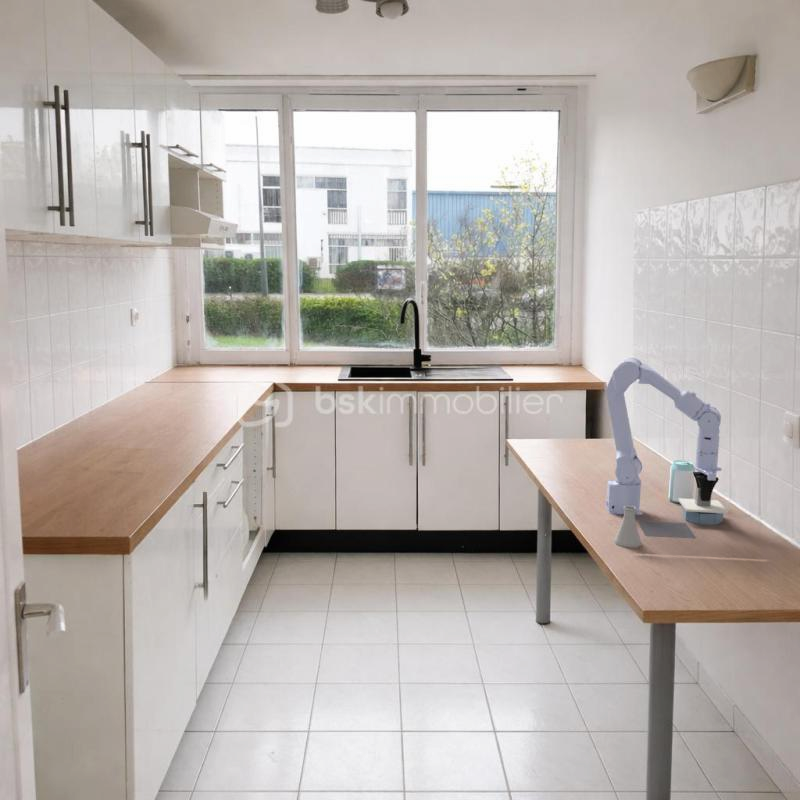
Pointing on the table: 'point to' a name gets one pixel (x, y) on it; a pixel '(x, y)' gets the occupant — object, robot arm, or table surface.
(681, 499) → the lid
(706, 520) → the bowl
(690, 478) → the can
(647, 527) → the mat
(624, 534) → the flask
